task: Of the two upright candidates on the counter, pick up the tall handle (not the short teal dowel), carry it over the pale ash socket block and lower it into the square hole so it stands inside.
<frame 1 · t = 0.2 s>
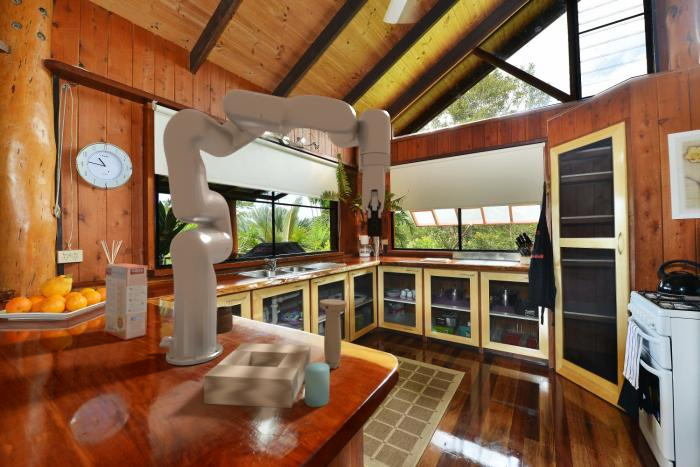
hand: (374, 236, 71), 30 cm above the countertop, tool pointing down, fingers open, 9 cm apart
socket block: (263, 383, 61), on the countertop
handle: (332, 367, 69), on the countertop
utensil holder: (222, 330, 94), on the countertop
short dowel: (316, 400, 55), on the countertop
cracker box: (125, 334, 90), on the countertop
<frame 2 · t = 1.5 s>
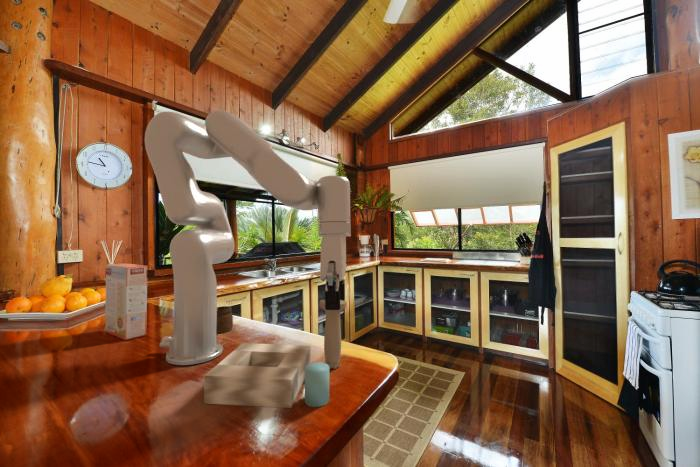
hand: (335, 304, 69), 14 cm above the countertop, tool pointing down, fingers open, 9 cm apart
nothing on the countertop moved.
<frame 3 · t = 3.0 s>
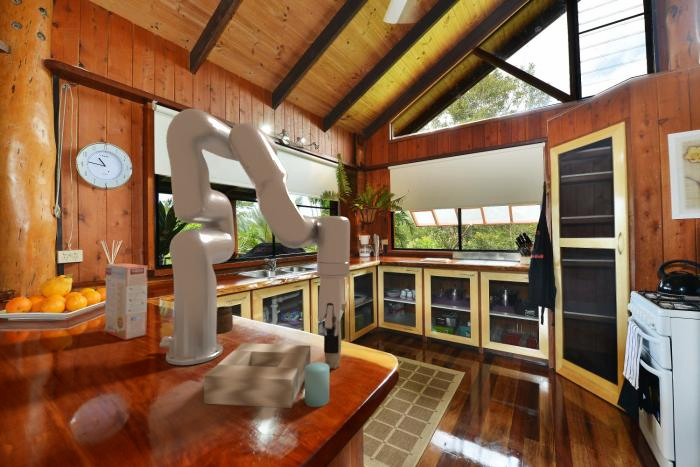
hand: (332, 347, 69), 4 cm above the countertop, tool pointing down, fingers closed on handle, 4 cm apart
handle: (332, 367, 69), on the countertop, touching gripper
everything else where it was.
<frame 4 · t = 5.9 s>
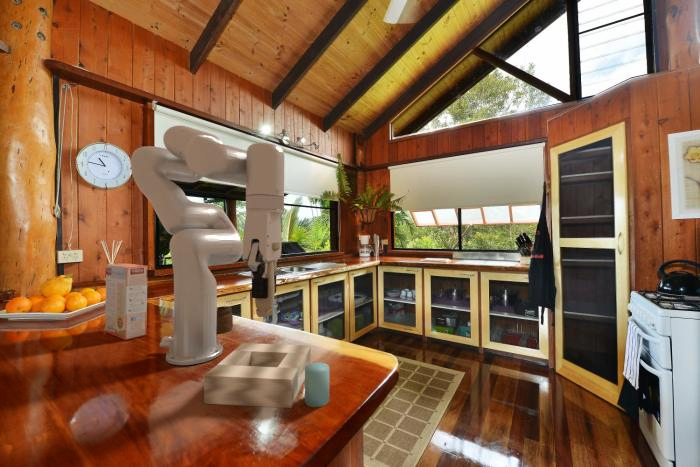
hand: (264, 294, 61), 18 cm above the countertop, tool pointing down, fingers closed on handle, 4 cm apart
handle: (264, 316, 61), point 14 cm above the countertop, touching gripper
everything else where it was.
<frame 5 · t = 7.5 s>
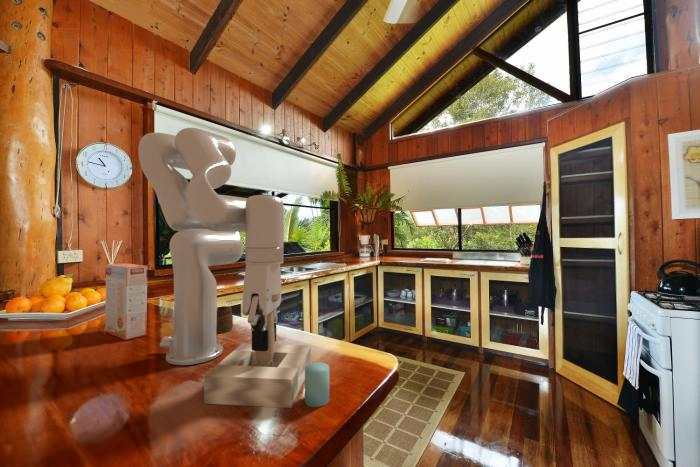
hand: (264, 345, 61), 8 cm above the countertop, tool pointing down, fingers closed on handle, 4 cm apart
handle: (264, 366, 61), point 3 cm above the countertop, touching gripper
everything else where it was.
when the fingers open (6 cm above the countertop, at t = 8.6 s): handle drops 2 cm, resting in socket block.
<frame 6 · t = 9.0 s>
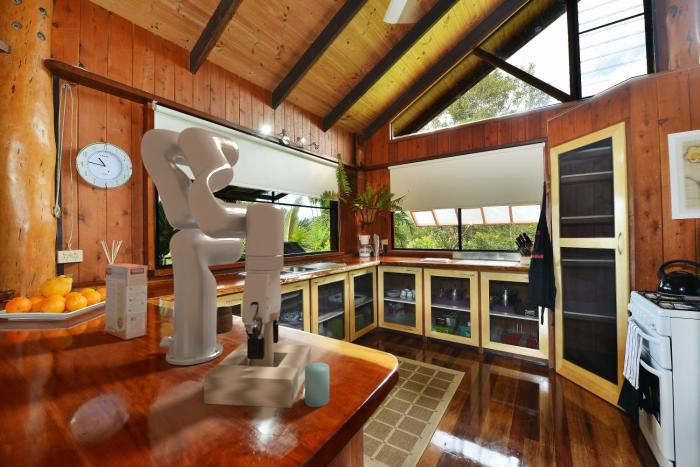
hand: (263, 349, 61), 7 cm above the countertop, tool pointing down, fingers open, 7 cm apart
handle: (263, 383, 61), resting in socket block
everything else where it was.
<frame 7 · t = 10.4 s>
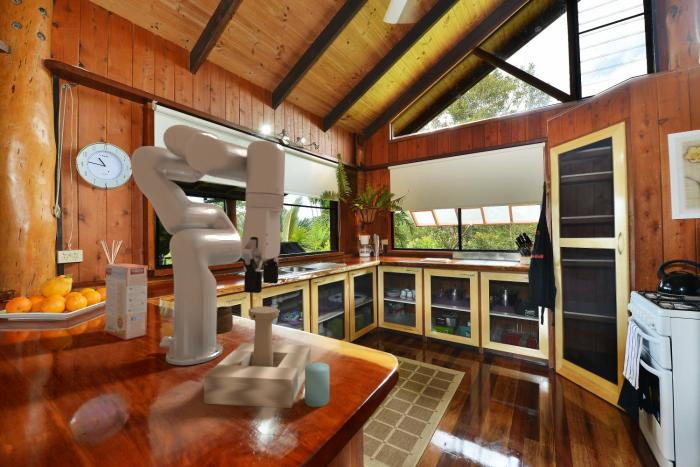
hand: (262, 287, 61), 20 cm above the countertop, tool pointing down, fingers open, 9 cm apart
nothing on the countertop moved.
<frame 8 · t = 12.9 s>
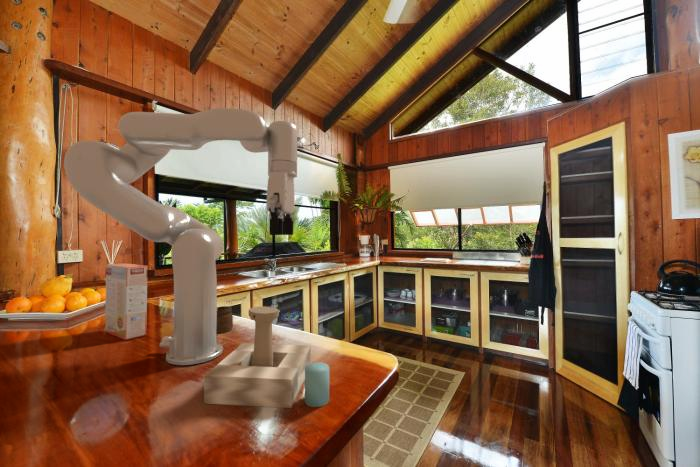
hand: (282, 234, 79), 30 cm above the countertop, tool pointing down, fingers open, 9 cm apart
nothing on the countertop moved.
at the end: handle inside the target area on the socket block (0.1 cm from its centre), point 0.0 cm above the socket block's base; handle tilted 0°; the gripper is holding nothing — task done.
